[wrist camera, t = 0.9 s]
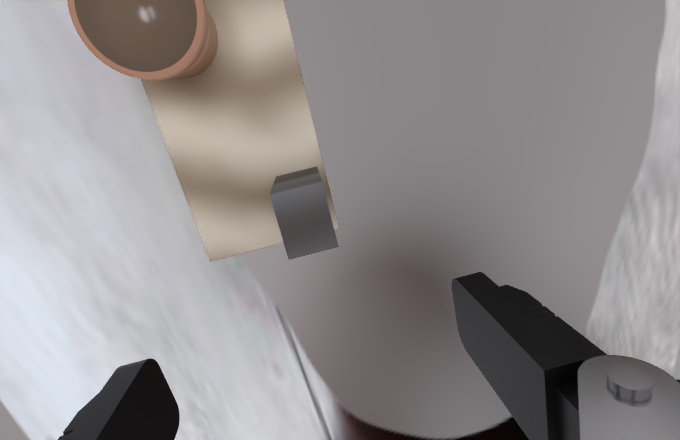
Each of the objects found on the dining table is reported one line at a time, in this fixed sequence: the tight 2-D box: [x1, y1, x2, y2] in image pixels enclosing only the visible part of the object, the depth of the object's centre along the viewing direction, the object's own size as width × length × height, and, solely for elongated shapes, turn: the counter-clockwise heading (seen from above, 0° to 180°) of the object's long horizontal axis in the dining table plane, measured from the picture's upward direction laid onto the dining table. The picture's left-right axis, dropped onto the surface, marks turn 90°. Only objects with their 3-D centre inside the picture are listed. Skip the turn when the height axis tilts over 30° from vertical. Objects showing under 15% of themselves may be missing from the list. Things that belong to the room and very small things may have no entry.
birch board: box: [141, 0, 339, 262], centre depth 21 cm, size 24×10×7 cm, turn 13°
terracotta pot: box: [68, 0, 218, 80], centre depth 19 cm, size 6×6×6 cm
